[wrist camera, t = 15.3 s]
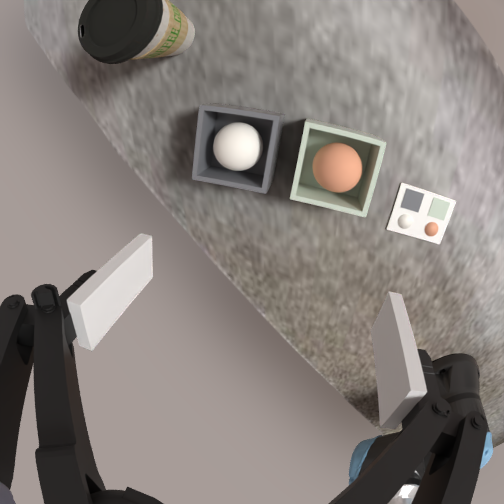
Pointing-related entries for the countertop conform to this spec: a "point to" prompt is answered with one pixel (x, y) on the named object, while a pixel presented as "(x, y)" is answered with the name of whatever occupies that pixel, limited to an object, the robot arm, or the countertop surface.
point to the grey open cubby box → (213, 122)
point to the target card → (420, 213)
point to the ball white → (238, 146)
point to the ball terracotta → (337, 167)
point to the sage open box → (315, 194)
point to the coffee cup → (133, 30)
